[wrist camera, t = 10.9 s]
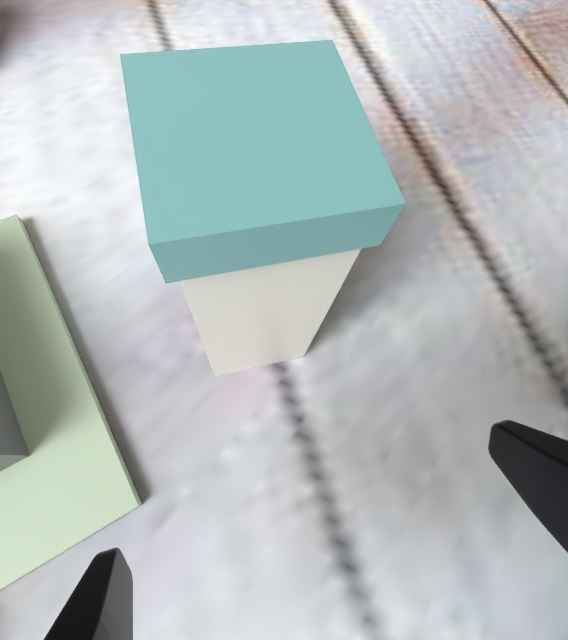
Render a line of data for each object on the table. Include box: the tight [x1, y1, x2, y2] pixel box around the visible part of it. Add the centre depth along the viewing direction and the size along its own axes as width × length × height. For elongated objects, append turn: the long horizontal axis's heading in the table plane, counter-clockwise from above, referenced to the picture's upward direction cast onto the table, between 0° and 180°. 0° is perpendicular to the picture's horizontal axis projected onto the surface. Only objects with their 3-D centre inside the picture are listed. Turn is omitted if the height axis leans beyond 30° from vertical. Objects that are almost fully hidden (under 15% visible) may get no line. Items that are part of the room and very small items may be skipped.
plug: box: [120, 40, 406, 377], centre depth 13 cm, size 5×5×12 cm
